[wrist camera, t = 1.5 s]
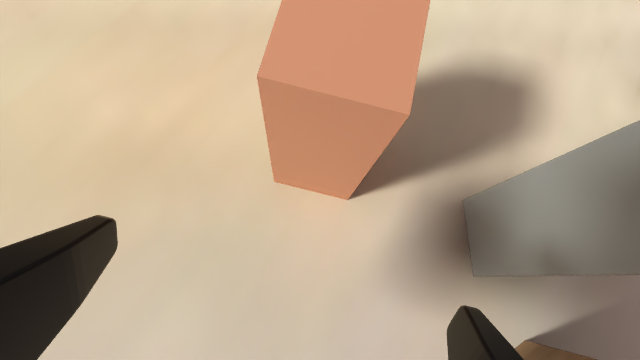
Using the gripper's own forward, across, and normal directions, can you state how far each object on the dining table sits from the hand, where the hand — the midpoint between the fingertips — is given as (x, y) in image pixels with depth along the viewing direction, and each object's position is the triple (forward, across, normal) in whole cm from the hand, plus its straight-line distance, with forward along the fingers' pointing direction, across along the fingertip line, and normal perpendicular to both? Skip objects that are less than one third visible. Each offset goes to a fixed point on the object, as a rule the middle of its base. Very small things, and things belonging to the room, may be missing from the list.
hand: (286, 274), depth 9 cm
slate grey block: (+13, -13, +5) cm, 20 cm away
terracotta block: (+15, 0, +4) cm, 15 cm away
